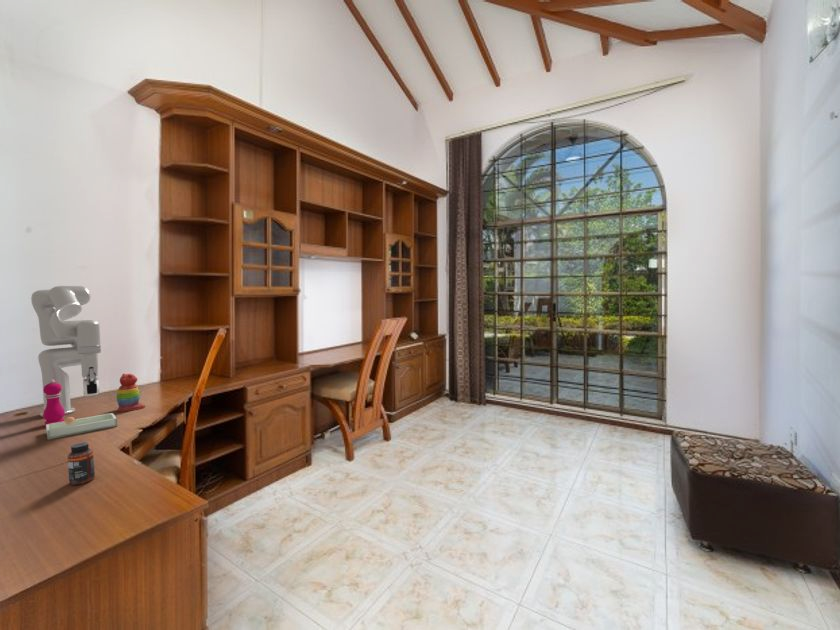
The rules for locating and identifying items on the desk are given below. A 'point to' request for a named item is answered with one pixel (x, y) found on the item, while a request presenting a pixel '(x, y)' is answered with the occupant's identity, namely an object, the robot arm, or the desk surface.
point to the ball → (69, 420)
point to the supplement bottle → (80, 464)
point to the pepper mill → (53, 403)
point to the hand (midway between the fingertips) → (91, 391)
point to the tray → (81, 426)
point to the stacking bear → (128, 394)
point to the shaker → (86, 387)
